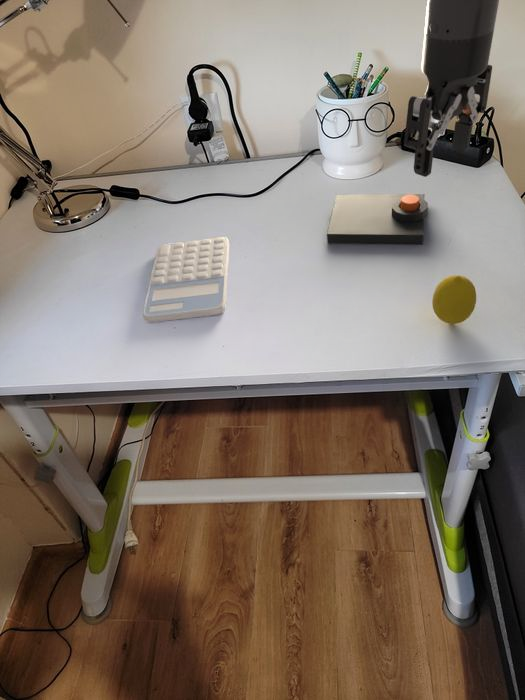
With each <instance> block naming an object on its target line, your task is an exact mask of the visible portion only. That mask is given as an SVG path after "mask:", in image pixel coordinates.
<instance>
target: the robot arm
mask: <svg viewBox="0 0 525 700" xmlns="http://www.w3.org/2000/svg"><path fill="white" fill-rule="evenodd" d="M499 2H500V0H427V5H426V12H425V24H424V25H425V26H424V37H423V46H422V57H421V72H422V73H423V75H424V76H425V77H426V79H427V81H428V84H427V88H426V91H425V93H424V95H423V96H421V97H418V96H416V95H415V96H414V95H412V96H410V97H409V100H408V104H407V113H406V122H405V130H404V131H405V132H404V141H403V146H404V147H406V148H409V149H413V150H414V159H413V172H414V174H416V175H418V176H421V177H424V178H426V177H428V176H430V175H431V174H432V168H433V161H434V152H435V151H434V150H435V148H434V147H435V144H436V142H437V140H438V138H439V136H440V134H443V133H445V131H446V129H447V127H448V125H449V122H450V121H452V120H453V119H454V117H455V118H456V119H457V120H456V121H455V123H454V130H453V137H452V143H451V147H452V149H453V150H455V151H459V152H462V153H464V152H466V151H468V150H469V149H470V144H471V137H472V132H473V125H474V123H476V122H477V120H478V117H479V114H484V113H485V111H486V109H487V104H488V100H489V99H488V98H489V92H490V87H491V86H490V85H491V79H492V73H493V65H491V64H489V62H490V56H491V55H490V54H491V51H492V50H491V49H492V43H493V38H494V32H495V26H496V22H497V14H498V9H499ZM475 95H478V96H479V101H477V99H476V96H475ZM431 118H432V119H433V120H436V121H438V122H434V121H431ZM415 131H416V133H415ZM429 131H431V132H430V135H429V134H428V132H429ZM428 135H429V137H428Z"/></svg>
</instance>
